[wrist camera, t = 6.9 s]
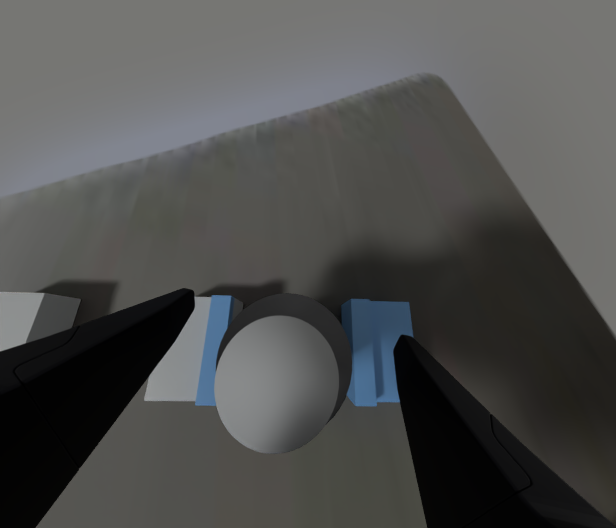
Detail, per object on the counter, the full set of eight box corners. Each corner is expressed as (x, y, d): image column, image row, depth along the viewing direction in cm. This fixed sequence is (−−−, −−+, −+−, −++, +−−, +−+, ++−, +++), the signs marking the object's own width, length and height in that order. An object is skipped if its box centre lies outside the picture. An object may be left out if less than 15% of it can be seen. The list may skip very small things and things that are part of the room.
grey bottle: (289, 407, 15) (263, 695, 3) (237, 345, 16) (63, 378, 4) (344, 345, 16) (474, 378, 4) (293, 292, 17) (285, 202, 5)
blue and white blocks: (-16, 388, 14) (-104, 404, 11) (22, 297, 16) (-44, 288, 13) (402, 391, 16) (428, 406, 12) (393, 306, 17) (414, 300, 14)
